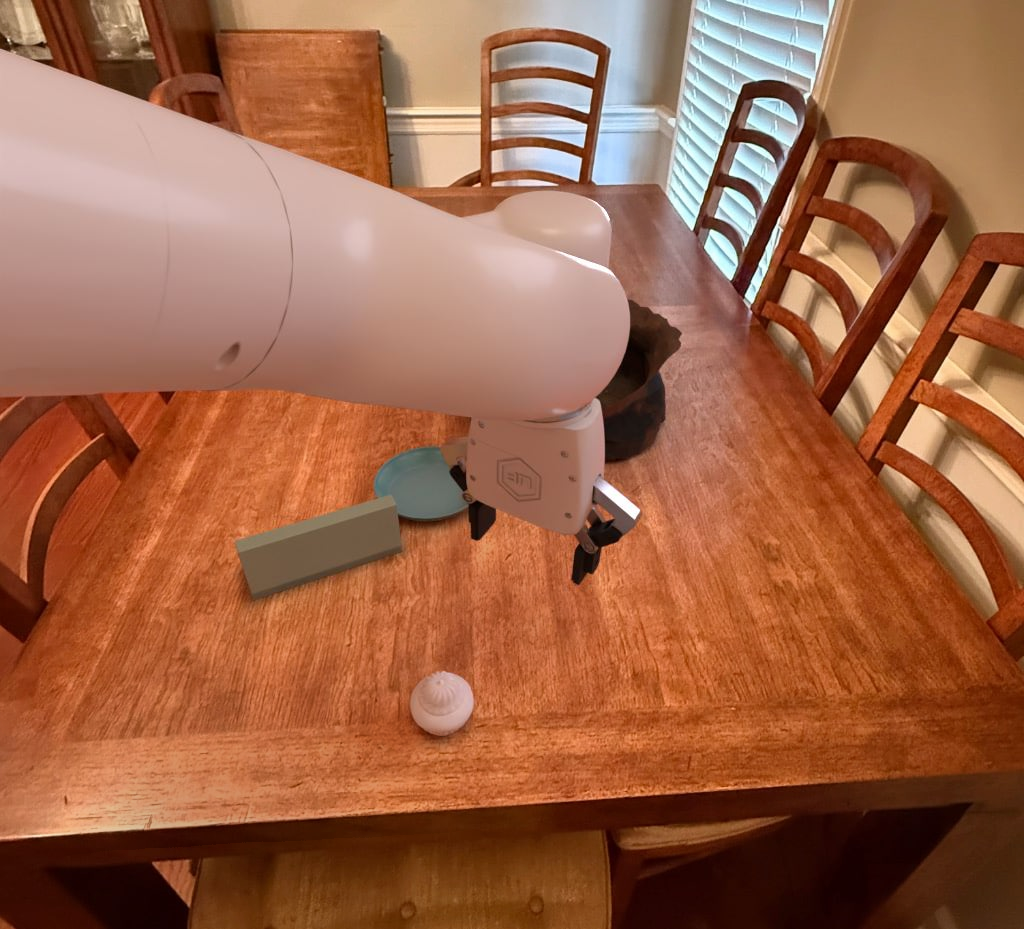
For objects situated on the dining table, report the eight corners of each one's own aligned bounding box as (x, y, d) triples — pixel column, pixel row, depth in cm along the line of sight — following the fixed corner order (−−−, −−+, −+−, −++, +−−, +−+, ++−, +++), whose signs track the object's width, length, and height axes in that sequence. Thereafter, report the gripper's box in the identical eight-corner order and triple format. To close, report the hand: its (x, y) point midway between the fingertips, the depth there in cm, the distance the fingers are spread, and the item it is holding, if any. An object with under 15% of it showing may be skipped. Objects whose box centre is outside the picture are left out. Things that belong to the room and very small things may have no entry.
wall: (253, 600, 80) (237, 552, 75) (245, 571, 83) (229, 523, 78) (402, 551, 86) (396, 504, 81) (389, 526, 90) (383, 479, 85)
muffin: (442, 682, 72) (439, 641, 68) (487, 717, 69) (486, 677, 65) (399, 725, 68) (392, 684, 64) (444, 763, 65) (440, 724, 61)
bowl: (663, 500, 97) (675, 418, 86) (436, 473, 103) (422, 393, 93) (676, 358, 121) (686, 280, 110) (491, 343, 127) (484, 268, 117)
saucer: (396, 453, 101) (394, 439, 99) (494, 468, 99) (494, 453, 97) (359, 522, 90) (356, 508, 88) (469, 540, 88) (469, 525, 86)
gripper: (408, 371, 49) (423, 541, 60) (636, 448, 43) (607, 623, 54) (465, 327, 54) (469, 491, 65) (677, 391, 48) (642, 561, 59)
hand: (531, 551), depth 59 cm, fingers open, 9 cm apart
